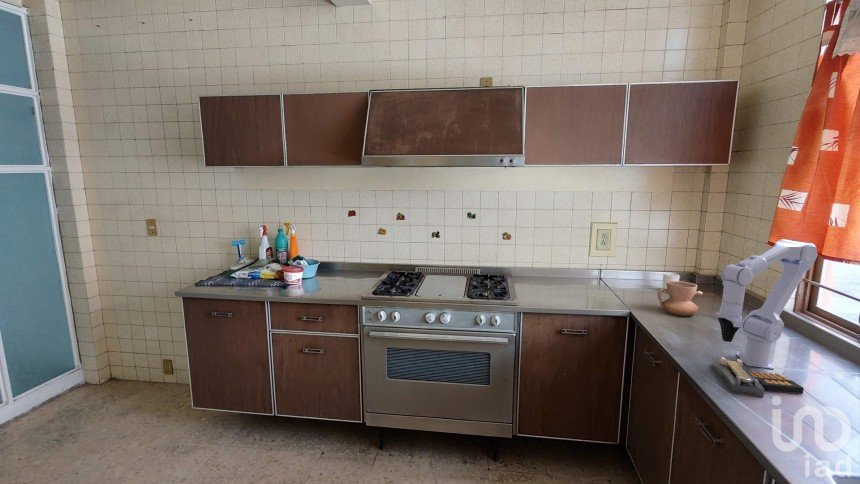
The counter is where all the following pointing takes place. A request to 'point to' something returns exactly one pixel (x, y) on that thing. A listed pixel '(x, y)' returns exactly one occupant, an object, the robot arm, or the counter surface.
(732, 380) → the block
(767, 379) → the ammunition clip
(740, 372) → the tan long flat bar
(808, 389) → the counter surface
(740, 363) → the lug
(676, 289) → the ceramic jug
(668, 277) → the white cup
